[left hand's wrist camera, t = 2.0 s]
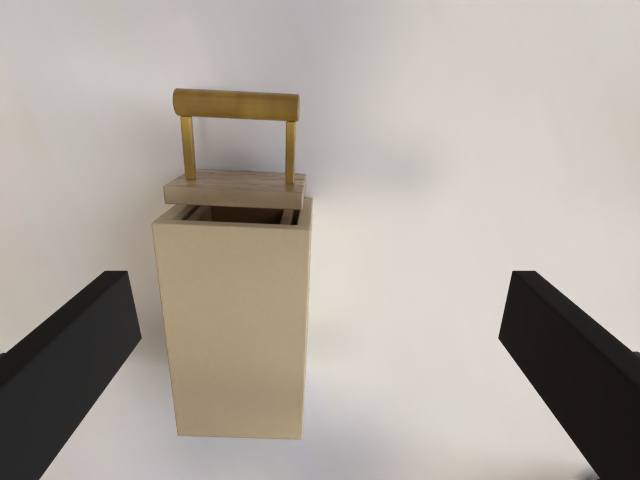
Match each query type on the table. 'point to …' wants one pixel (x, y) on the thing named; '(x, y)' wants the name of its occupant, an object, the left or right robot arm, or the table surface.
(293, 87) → the table surface
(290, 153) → the drawer
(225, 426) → the wooden box
